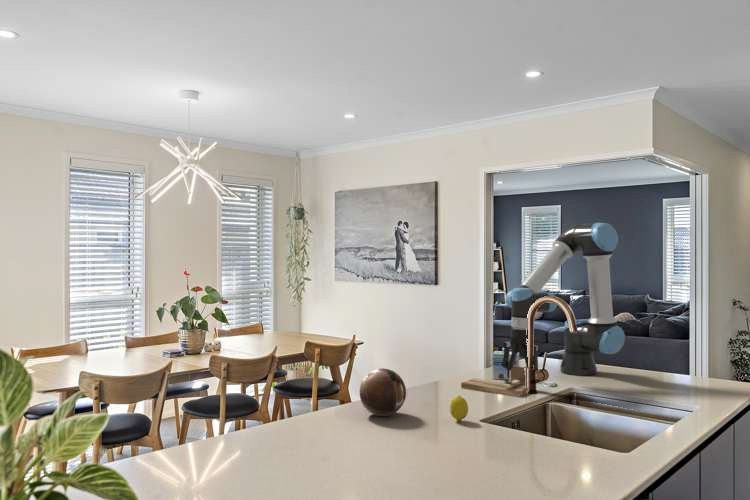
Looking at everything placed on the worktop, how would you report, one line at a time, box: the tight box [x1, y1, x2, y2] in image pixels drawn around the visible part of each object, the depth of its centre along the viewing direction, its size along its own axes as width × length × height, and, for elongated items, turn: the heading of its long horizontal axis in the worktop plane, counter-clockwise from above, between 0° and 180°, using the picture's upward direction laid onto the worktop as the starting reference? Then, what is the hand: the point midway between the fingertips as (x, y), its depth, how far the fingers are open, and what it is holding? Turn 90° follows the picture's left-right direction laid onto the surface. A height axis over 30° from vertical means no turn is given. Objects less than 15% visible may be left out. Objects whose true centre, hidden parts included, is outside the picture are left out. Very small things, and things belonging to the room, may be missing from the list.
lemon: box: [449, 395, 469, 422], centre depth 183 cm, size 6×6×8 cm
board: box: [460, 378, 528, 398], centre depth 225 cm, size 10×24×2 cm, turn 52°
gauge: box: [504, 366, 525, 388], centre depth 222 cm, size 14×6×8 cm, turn 142°
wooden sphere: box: [359, 368, 407, 417], centre depth 191 cm, size 15×15×15 cm
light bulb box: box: [492, 350, 520, 381], centre depth 246 cm, size 11×7×11 cm, turn 73°
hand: (519, 388), depth 226 cm, fingers open, 6 cm apart
